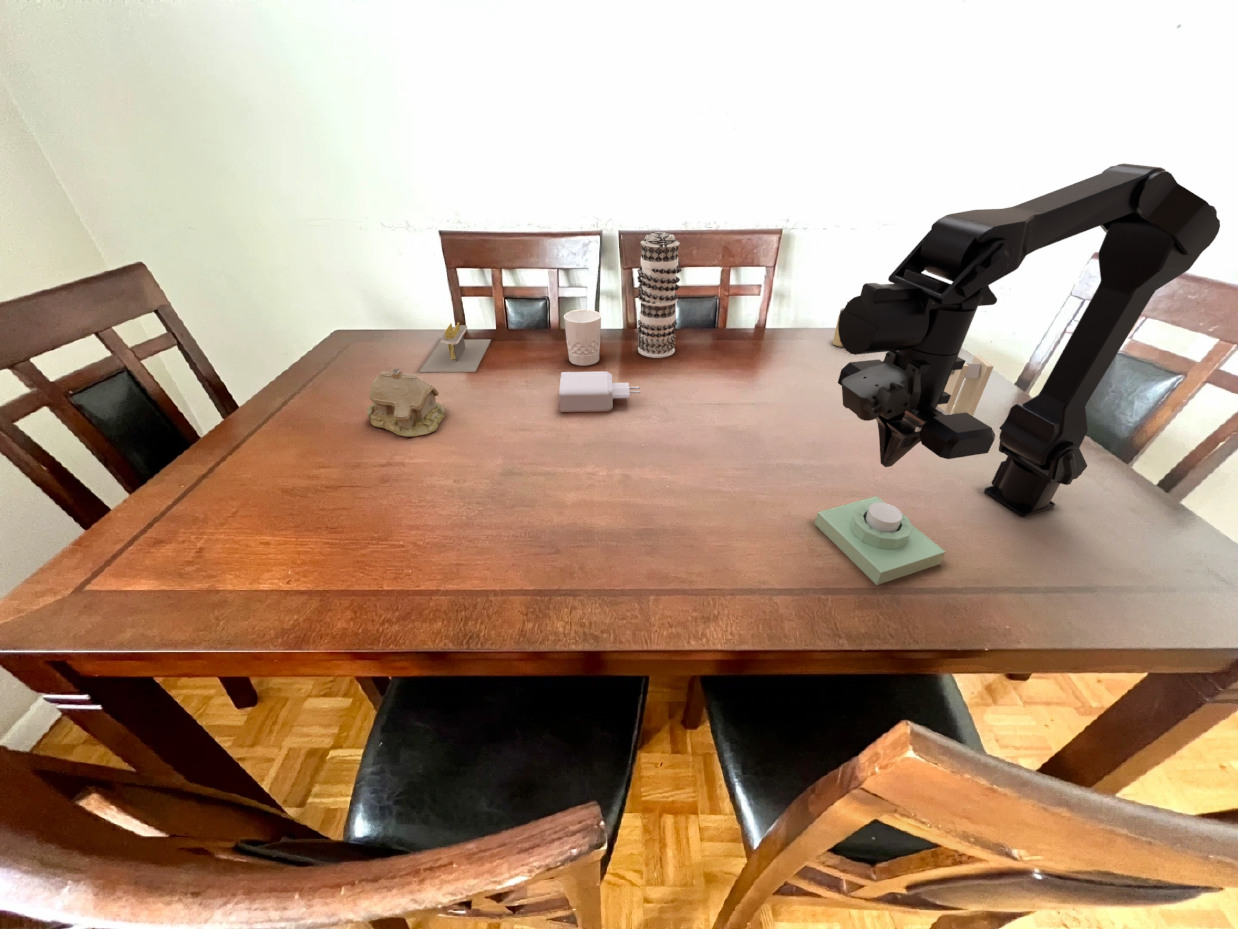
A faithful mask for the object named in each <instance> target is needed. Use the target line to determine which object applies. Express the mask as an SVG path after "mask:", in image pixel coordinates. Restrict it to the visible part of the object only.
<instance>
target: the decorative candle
mask: <svg viewBox="0 0 1238 929" xmlns="http://www.w3.org/2000/svg"><path fill="white" fill-rule="evenodd" d="M680 244H681V242H680V241H679V240H677V238H676V237H675V235H674V234H673V233H671V232H666V231H655V232H654V231H653V232H649V233H648V234H646V235H645V236H644V238H643V240H641V241H640V245H641V256H640V265H639V266H638V269H637V274H638V276H637V282H638V283H639V284H638V286H637V289H638V293H637V296H638V297H637V298H638V301H639V302H640V310H639V319H638V320H637V323H638V327H637V332H638V333H637V346H638V347H637V352H638V353H639V354H640V355H641V356H644V357H647V358H651V359H652V358H653V359H663V358H667V357H670V356H672V355H673V354H674V353H675V352H676V349H675V346H676V339H677V336H676V332H677V328H676V325H677V324H678V322H677V320H676V303H677V302H678V299H679V295H678V294H677V293H676V292H677V291H678V290H680V285H679V284H677V283H679V282H680V281H681V278H680V277H678V276H677V274H679V273H681V272H682V268H681V267H680V265H681V264H682V262H680V261H679V259H680V258H679V256H678V255H679V245H680Z"/></svg>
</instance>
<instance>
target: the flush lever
mask: <svg viewBox="0 0 1238 929" xmlns="http://www.w3.org/2000/svg"><path fill="white" fill-rule="evenodd" d="M965 363H966V364H967V365H968V366H969V367H968V369H967V372H966V375H965V377H964V379H966V378H978V377H979V370H980V363H972V362H965Z"/></svg>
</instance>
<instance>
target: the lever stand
mask: <svg viewBox="0 0 1238 929" xmlns="http://www.w3.org/2000/svg"><path fill="white" fill-rule="evenodd" d="M966 363H967V362H965V363H964V366H963V368H962V369H960V370H952V372H951V375H950V377H949V380H948V382H947V385H946V387H945V390H944V391H945V392H946V393H948V394H950V395H951V397H950V399H949V402H948V403H947V404H939V405H938V407H940V408H941V409H943V410H944V411H946V412H948V413H949V415H950V414H958V413H965V412H966V413H968V414H970V415H971V416H973V417H974V415H975V412H976V410H977V407H978V405H979V403H980V400H981V398H982V396H983V393H984V390H985V388H986V386H987V383H988V381H989V379H990V376H991V374H992V371H993V369H994V364H992V363H990V362H989V361H988V360H987V359H986V358H984V357H983V356H982V355H973V359H972V361H971V363H980V370H979V377H978V378H964V377H965V375H966V372H967V369H968V367H969V366H968V365H967V364H966ZM959 391H960V392H959Z"/></svg>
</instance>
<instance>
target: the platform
mask: <svg viewBox="0 0 1238 929" xmlns="http://www.w3.org/2000/svg"><path fill="white" fill-rule="evenodd" d="M467 329H468V325H467V324H460V322H457V324H456V325H455V326H453V324H452V322H450V323H449V325H448V326H447V328H446V329H445V330H444V333H443V335H442V336H441V338H440V341H439V343H438V344H437V345H436V347H435V348H434V350H432V353H431V354H430V356H429V357H428V358H427V360H426V361H425V363H424V364H423V366H422V367H421V369H420V370H419V371H418V372H419V373H472V372H473V373H476V372H477V369H478V367H479V365H480V363H481V361H482V359H483V357H484V355H485V353H486V351H487V349H488V348H489V345H490V343H491V341H492V339H489V338H488V339H486V338H485V339H484V338H483V339H479V338H478V339H470V338H469V339H465V337H464V336H465V333H466V331H468V330H467Z"/></svg>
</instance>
